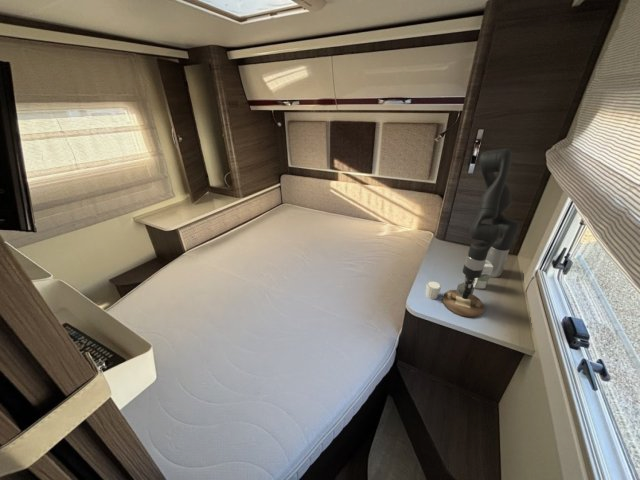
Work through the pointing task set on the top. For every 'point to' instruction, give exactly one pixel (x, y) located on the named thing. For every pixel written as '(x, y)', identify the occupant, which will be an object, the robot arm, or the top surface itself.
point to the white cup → (432, 289)
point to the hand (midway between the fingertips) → (465, 294)
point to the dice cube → (462, 290)
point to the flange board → (463, 304)
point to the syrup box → (483, 276)
